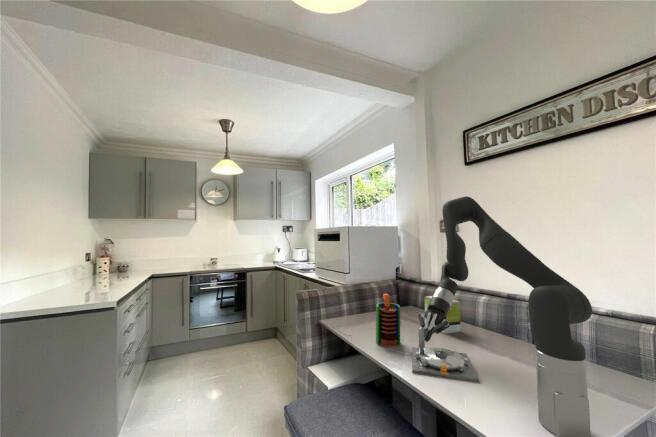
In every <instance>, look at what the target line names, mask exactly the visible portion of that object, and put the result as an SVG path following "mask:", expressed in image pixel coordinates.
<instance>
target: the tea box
mask: <svg viewBox="0 0 656 437" xmlns="http://www.w3.org/2000/svg"><path fill="white" fill-rule="evenodd" d="M432 296H433V295H427V296H424V312H425V311H427V309H428V305H429V303H430V301H431V299H432ZM446 321H448V323H449V325H450V327H448V328H447V329H445V330H443V331H442V332H441V333H443V334H444V333H446V334H451V333H452V334H455V333H460V332H461V330H462V329H461V327H462V326H461V323H462V322H461V301H459V300H455V299H453V302H452V305H451V307H450V310H449V312H448V315H447V316H446ZM425 322H426V318H425V320H424V323H425ZM425 324H426V323H425Z"/></svg>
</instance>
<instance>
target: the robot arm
mask: <svg viewBox="0 0 656 437" xmlns="http://www.w3.org/2000/svg"><path fill="white" fill-rule="evenodd" d="M441 212H442V221H443V228H444V235H445V240H446V257H445V259H446V261H445V262H444V263H442V265H441V274H440V275H441V276H440V281H439V283H438V284H437V287H436V289H435V291H434V293H433V294H432V295H431V296H432V299H431V301H430V303H429V305H428V309H427V311H425V310H424V313H422V314H421V313H418V314H417V317H418V321H419V324H420V325H419V326H420V327H423V328H424V333H425V342H426V343H428V342H429V341H431V338H432V336H433V335H434V334H437V335H438V334H440V333H442V331H443V330H445V329H447V328H448V327H450V325H449V323H448V321H446V316H447V315H448V312H449V310H450V307H451V305H452V302H453V300H454V298H455V296H456V293H457V291H458V288H459V287H458V284H457V281H458V282H464V281H466V280H467V279H468V278H469V273H470V272H469V267H468V264H467V261H466V252H467V251H466V250H467V247H466V243H465V241H464V240H463V238H462V237H461V236H460V235H459V234H458V232H457V225H460V224H464V223H468V222H472V223H473V224H474V225H475V226H476V227H477V228H478V242H479V247H480V250H481V251H482V252H483V254H485V255H486V256H487V257H488V258H489V259H490V260H491V261H492V263H494V265H496V266H497V267H499V268H500V269H502V270H504V271H505V272H507V273H509V274H511V275H513V276H515V277H517V278H519V279H521V281H524V282H525V283H527V284H528V285H529V286H531V287H532V288H533V289H532V290H531V291H530V293H529V296H528V303H527V305H528V308H527V309H528V317H529V327H530V328H529V329H530V333H531V337H532V339H533V341H534V344H535V345H534V346H535V365H536V368H535V370H536V387H537V388H536V389H537V392H536V393H537V407H538V411H537V412H538V421H539V422H538V423H540V424H541V426H542V427H544V428H545V429H546V430H547V431H549V432H550V433H552V434H554V435H555V437H592V433H591V417H590V402H589V401H590V400H589V395H588V394H589V393H588V378H587V377H588V376H587V361H586V358H587V357H586V349H585V346H584V345H583V343H581V342H579V341H578V340H575V339H573V338H572V333H571V332H572V331H571V325H572V324H573V325H574V324H581V323H584V322H587V321H588V320H590V318H591V317H592V314H593V308H592V304H591V302H590V299H589V298H588V297H587V295H586V294H584V293H583V291H582V290H580V289H579V288H578V287H576V286H575V285H574V284H572V283H571V282H570V281H568V280H566V279H565V278H564V277H562V276H561V275H559V274H558V273H557V272H555V271H554V270H553V269H551V268H550V267H549V266H547V265H546V264H545V263H543V262H542V260H540V258H538V257H537V256H536V255H534V254H533V253H532V252H531V251H529V250H528V249H527V248H526V247H525V246H524V245H523V244H522V243H520V241H519V240H517V238H515V237H514V236H513V235H511V234H510V233H509V232H507V230H506V229H504V228H503V227H502V226H501V225H500V224H499V223H497V221H495V220H494V219H493V218H492V217H491V216H490V215H489V214H488V213H487V212H486V210H484V208H483V207H481V205H480V204H479V203H478V201H476V199H474V198H472V197H471V196H461V197H458V198H454V199H451V200H447V201H446V202H443V205H442V211H441ZM454 280H455V281H454ZM425 318H426V322H425ZM425 323H426V324H425Z"/></svg>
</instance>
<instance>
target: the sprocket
mask: <svg viewBox="0 0 656 437" xmlns="http://www.w3.org/2000/svg"><path fill="white" fill-rule="evenodd" d="M418 348H419V352H416V358H419V359H420V360H421V361H422V364H423V365H425V366H431V367H434V368H437V369H441V371H445V372H447V370H460V371H463V370H465V364H466V365H468V359H467V358H463V357H462V356H461V355H460V354H459V353H460V352H459V351H457V350H450V349H446V348H442V347H441V346H436V347H426V346H425V333H424V328H423V327H421V326H419V327H418Z"/></svg>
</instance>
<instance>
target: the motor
mask: <svg viewBox="0 0 656 437" xmlns="http://www.w3.org/2000/svg"><path fill="white" fill-rule="evenodd" d="M382 299H383V300H384V302H378V303H376V304H375V310H376V311H375V321H376V322H375V343H376V344H377V345H381V346H386V347H394V346H397V345H401V306H400V305H399V304H396V303H393V302H390V295H389V294H388V293H383V294H382Z"/></svg>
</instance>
